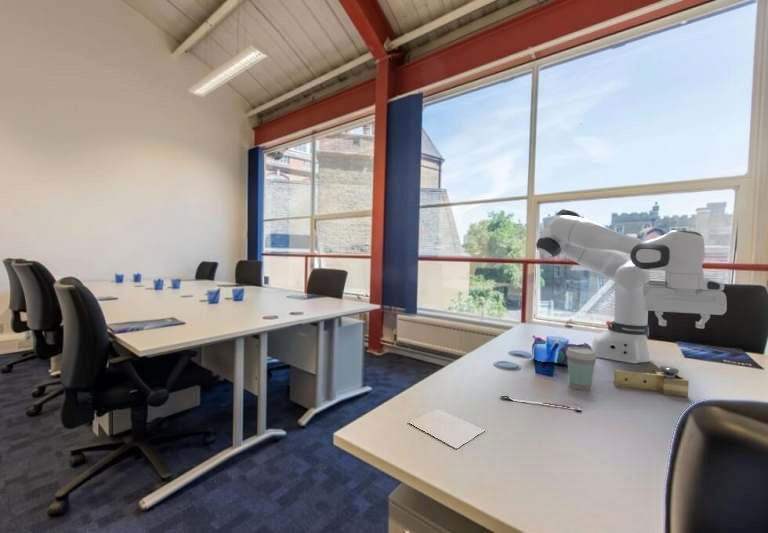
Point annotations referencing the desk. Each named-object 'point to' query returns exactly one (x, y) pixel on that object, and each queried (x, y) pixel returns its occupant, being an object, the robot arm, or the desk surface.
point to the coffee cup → (580, 367)
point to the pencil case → (562, 352)
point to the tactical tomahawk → (555, 405)
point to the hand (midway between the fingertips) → (680, 326)
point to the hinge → (652, 381)
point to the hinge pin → (669, 371)
